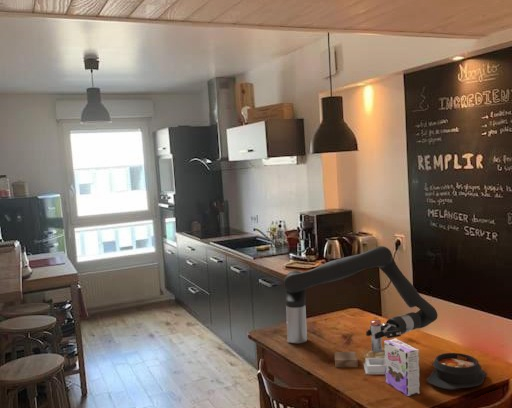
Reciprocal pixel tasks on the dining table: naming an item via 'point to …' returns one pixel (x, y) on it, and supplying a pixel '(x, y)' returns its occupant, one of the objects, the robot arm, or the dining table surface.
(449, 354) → the casserole
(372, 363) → the socket
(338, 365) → the mount
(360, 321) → the dining table surface
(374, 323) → the canister
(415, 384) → the candy box
